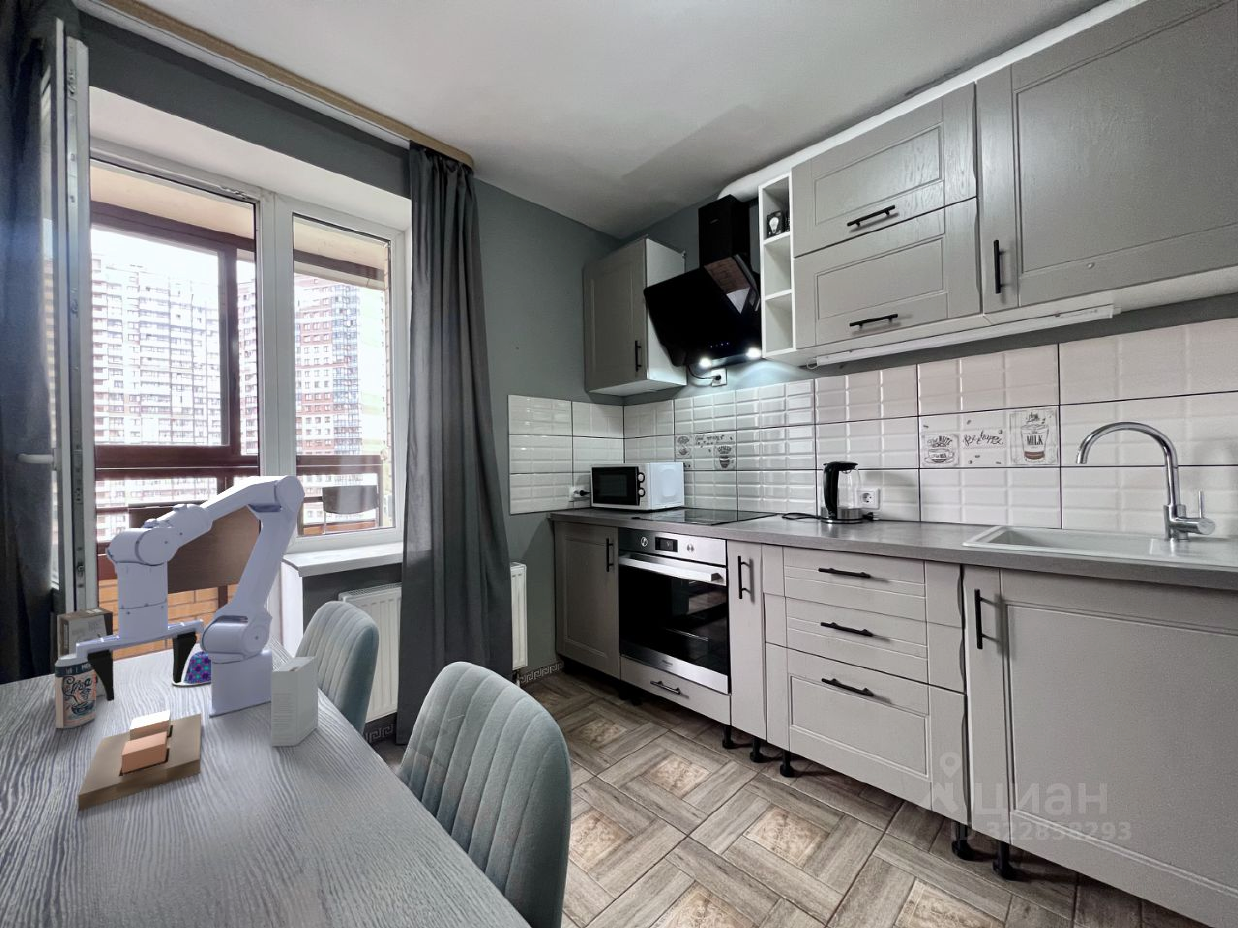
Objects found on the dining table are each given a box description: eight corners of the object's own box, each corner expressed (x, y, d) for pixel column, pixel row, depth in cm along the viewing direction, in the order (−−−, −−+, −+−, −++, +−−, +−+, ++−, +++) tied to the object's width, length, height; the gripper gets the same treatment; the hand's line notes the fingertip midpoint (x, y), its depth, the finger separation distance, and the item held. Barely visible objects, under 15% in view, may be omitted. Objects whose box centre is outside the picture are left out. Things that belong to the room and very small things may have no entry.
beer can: (68, 731, 84) (67, 661, 84) (47, 729, 85) (47, 659, 85) (103, 717, 89) (102, 650, 89) (83, 715, 90) (82, 649, 90)
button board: (201, 724, 85) (201, 713, 85) (199, 772, 72) (199, 758, 72) (101, 751, 78) (101, 738, 78) (78, 810, 64) (77, 795, 64)
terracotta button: (167, 747, 74) (166, 731, 74) (165, 760, 71) (164, 743, 71) (126, 759, 72) (125, 741, 72) (121, 773, 68) (121, 755, 68)
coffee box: (115, 691, 100) (114, 611, 100) (68, 704, 94) (67, 620, 94) (102, 681, 105) (101, 605, 105) (57, 694, 99) (56, 613, 99)
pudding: (194, 692, 99) (193, 666, 99) (158, 684, 103) (158, 659, 104) (256, 669, 110) (256, 645, 110) (222, 662, 115) (221, 640, 115)
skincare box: (293, 727, 84) (292, 656, 84) (320, 726, 84) (319, 655, 84) (269, 748, 78) (267, 671, 78) (298, 746, 78) (297, 669, 78)
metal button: (170, 724, 81) (170, 709, 81) (169, 735, 78) (168, 719, 78) (133, 734, 78) (133, 718, 79) (129, 745, 75) (129, 729, 75)
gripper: (197, 590, 86) (198, 668, 86) (73, 610, 75) (75, 699, 75) (206, 596, 82) (208, 678, 82) (76, 618, 71) (78, 713, 71)
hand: (144, 689), depth 78 cm, fingers open, 7 cm apart
